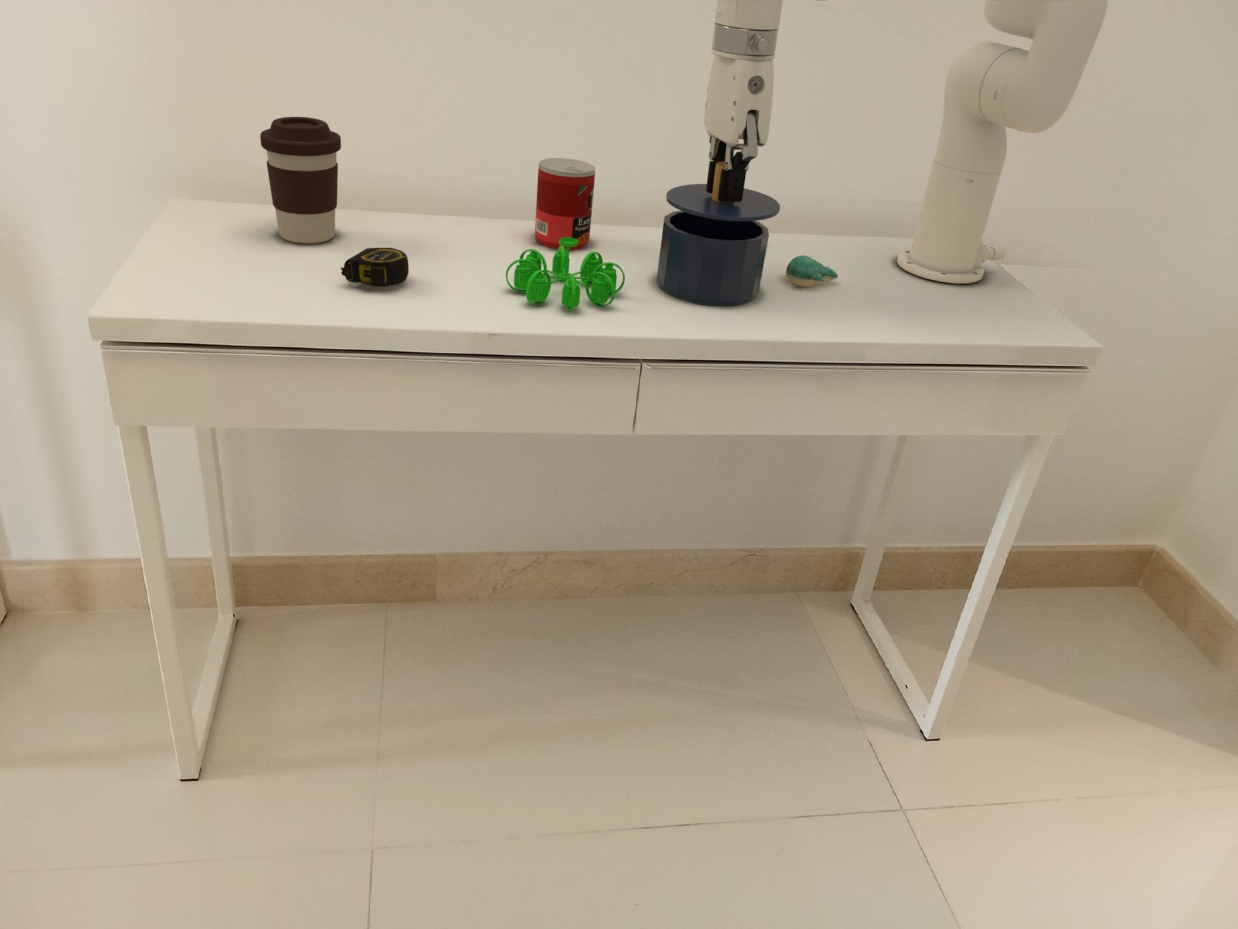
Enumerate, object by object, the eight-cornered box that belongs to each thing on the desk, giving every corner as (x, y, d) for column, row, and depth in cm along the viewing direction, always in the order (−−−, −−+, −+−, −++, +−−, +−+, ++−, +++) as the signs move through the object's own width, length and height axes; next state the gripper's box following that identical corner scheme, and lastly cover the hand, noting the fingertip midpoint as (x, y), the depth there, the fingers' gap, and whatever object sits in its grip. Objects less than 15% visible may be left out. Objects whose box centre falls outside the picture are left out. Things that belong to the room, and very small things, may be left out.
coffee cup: (287, 220, 139) (279, 110, 132) (355, 230, 138) (351, 119, 131) (255, 241, 131) (244, 124, 123) (328, 252, 130) (321, 134, 122)
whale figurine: (776, 275, 139) (781, 249, 137) (822, 274, 142) (827, 248, 140) (796, 290, 135) (801, 264, 133) (843, 289, 137) (848, 262, 135)
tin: (732, 268, 140) (742, 209, 136) (774, 305, 129) (786, 241, 125) (642, 270, 136) (649, 209, 131) (677, 308, 125) (686, 242, 120)
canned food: (582, 253, 139) (588, 175, 134) (527, 245, 140) (531, 166, 135) (594, 238, 146) (601, 162, 140) (542, 230, 147) (546, 154, 141)
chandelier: (633, 317, 120) (639, 263, 117) (509, 314, 118) (511, 258, 114) (613, 274, 133) (618, 224, 130) (501, 270, 130) (503, 218, 127)
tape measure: (368, 269, 126) (368, 241, 124) (418, 279, 124) (418, 250, 123) (341, 286, 120) (339, 256, 118) (392, 297, 119) (392, 266, 117)
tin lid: (750, 191, 135) (756, 149, 132) (798, 224, 124) (806, 179, 121) (649, 192, 131) (654, 149, 128) (690, 227, 119) (695, 180, 116)
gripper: (804, 55, 112) (778, 216, 121) (744, 32, 125) (725, 179, 134) (743, 53, 109) (721, 217, 119) (689, 30, 122) (673, 179, 132)
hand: (723, 195), depth 126 cm, fingers closed on tin lid, 3 cm apart
